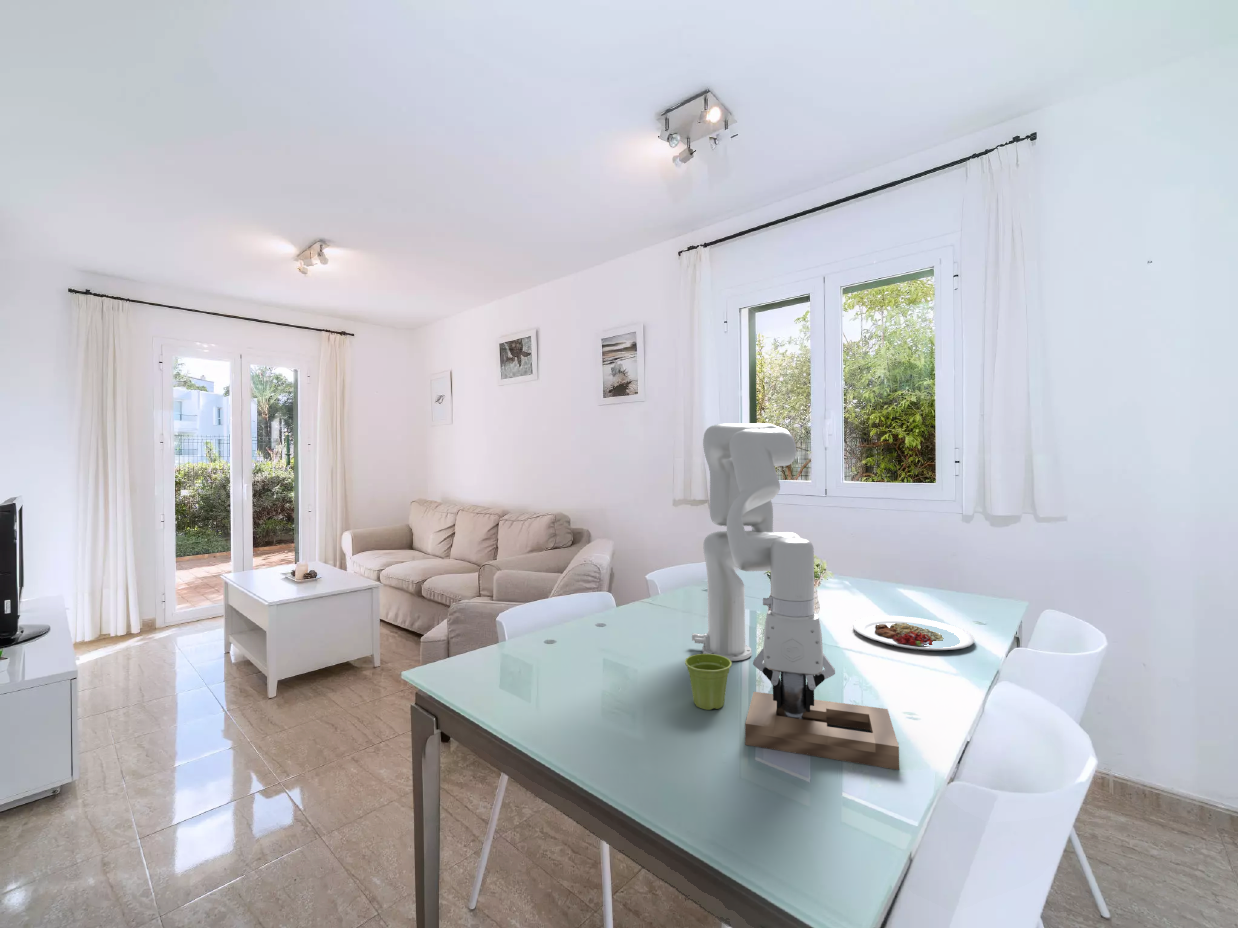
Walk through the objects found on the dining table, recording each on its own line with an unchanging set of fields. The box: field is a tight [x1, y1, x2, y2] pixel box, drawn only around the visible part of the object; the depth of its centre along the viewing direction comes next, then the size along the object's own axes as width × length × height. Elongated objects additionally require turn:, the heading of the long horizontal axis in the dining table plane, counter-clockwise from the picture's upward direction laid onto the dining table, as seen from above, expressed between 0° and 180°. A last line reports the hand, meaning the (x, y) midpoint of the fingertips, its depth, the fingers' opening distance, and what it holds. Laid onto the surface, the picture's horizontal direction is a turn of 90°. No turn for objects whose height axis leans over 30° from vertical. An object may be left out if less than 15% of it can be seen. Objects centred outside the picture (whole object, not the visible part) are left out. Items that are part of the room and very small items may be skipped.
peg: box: [780, 672, 807, 719], centre depth 97 cm, size 6×6×13 cm
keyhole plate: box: [744, 691, 900, 771], centre depth 96 cm, size 24×14×4 cm, turn 70°
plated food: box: [852, 615, 975, 651], centre depth 151 cm, size 30×30×3 cm
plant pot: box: [684, 653, 733, 711], centre depth 110 cm, size 9×9×9 cm
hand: (793, 705), depth 98 cm, fingers closed on peg, 4 cm apart
